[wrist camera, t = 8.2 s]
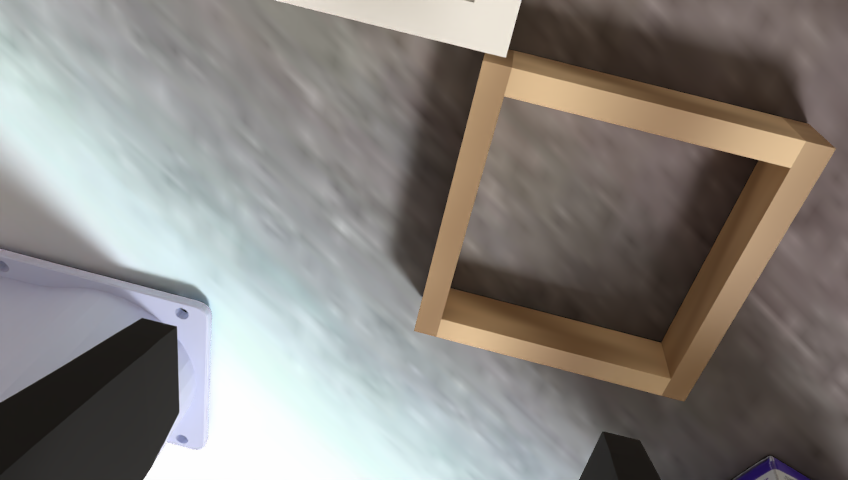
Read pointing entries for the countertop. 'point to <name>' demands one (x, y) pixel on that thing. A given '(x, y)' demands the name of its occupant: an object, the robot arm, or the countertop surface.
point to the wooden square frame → (720, 273)
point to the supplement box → (770, 471)
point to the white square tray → (433, 19)
